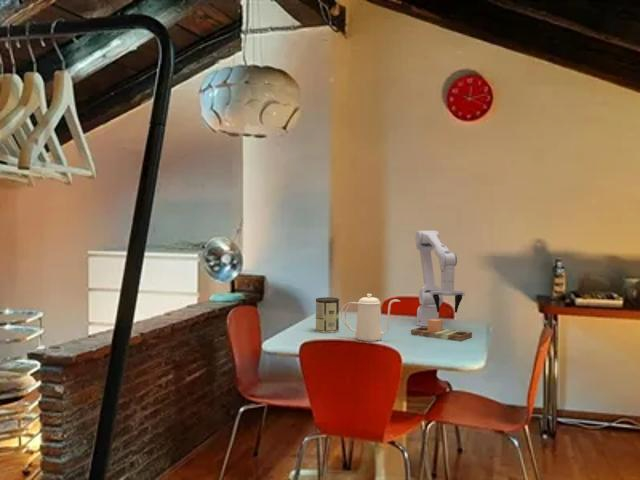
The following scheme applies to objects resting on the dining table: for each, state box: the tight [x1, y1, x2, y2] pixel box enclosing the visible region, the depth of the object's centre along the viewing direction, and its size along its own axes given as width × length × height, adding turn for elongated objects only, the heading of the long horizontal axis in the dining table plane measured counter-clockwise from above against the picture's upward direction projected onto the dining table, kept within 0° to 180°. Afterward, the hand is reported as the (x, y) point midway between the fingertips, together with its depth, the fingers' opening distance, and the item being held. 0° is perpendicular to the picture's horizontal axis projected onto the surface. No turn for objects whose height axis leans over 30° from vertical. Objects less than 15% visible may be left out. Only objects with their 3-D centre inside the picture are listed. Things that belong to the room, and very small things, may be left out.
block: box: [428, 319, 443, 332], centre depth 300 cm, size 4×4×4 cm
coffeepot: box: [340, 293, 400, 342], centre depth 290 cm, size 11×25×19 cm, turn 71°
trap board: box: [410, 326, 473, 342], centre depth 299 cm, size 23×11×2 cm, turn 55°
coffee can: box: [315, 296, 340, 334], centre depth 308 cm, size 10×10×14 cm
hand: (447, 312), depth 306 cm, fingers open, 7 cm apart
